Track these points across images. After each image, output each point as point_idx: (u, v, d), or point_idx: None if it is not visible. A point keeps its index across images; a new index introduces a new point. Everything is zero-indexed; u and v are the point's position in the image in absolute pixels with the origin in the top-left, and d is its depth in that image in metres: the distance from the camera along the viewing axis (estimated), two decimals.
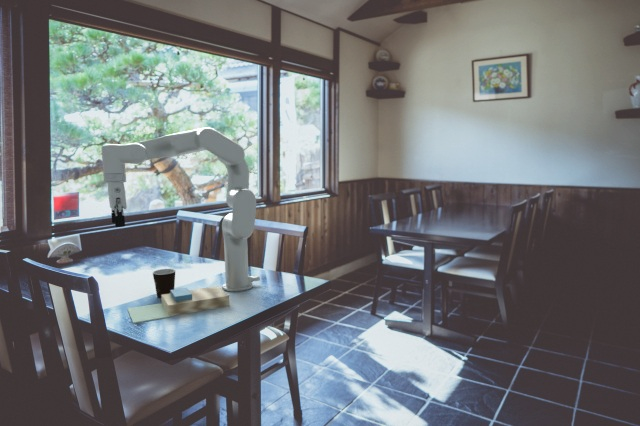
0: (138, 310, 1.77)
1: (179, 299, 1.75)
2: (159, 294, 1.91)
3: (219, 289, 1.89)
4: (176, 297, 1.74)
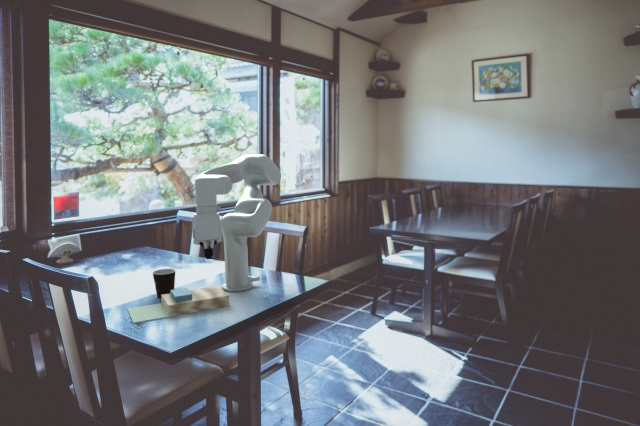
0: (138, 310, 1.77)
1: (179, 299, 1.75)
2: (159, 294, 1.91)
3: (219, 289, 1.89)
4: (176, 297, 1.74)
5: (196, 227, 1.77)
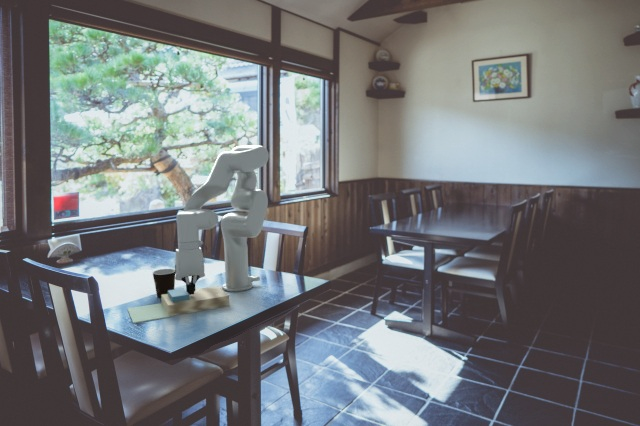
0: (138, 310, 1.77)
1: (176, 299, 1.75)
2: (159, 294, 1.91)
3: (219, 289, 1.89)
4: (173, 297, 1.74)
5: (178, 263, 1.76)
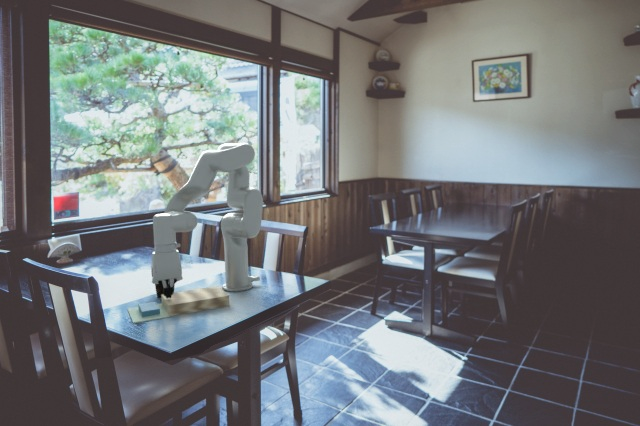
0: (138, 310, 1.77)
1: (155, 311, 1.72)
2: (159, 294, 1.91)
3: (219, 289, 1.89)
4: (158, 313, 1.72)
5: (154, 266, 1.72)
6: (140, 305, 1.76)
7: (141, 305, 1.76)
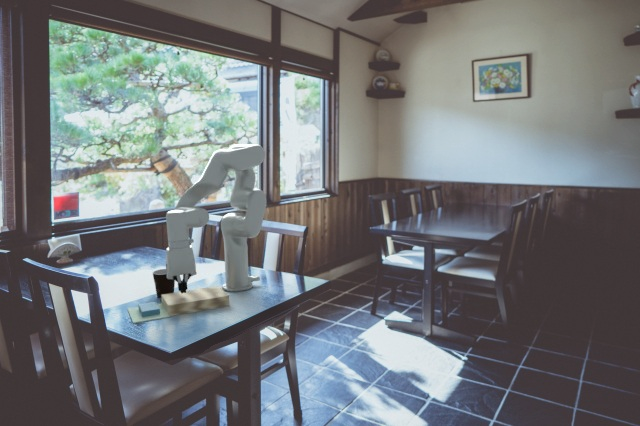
0: (138, 310, 1.77)
1: (155, 311, 1.72)
2: (159, 294, 1.91)
3: (219, 289, 1.89)
4: (158, 313, 1.72)
5: (169, 262, 1.75)
6: (140, 305, 1.76)
7: (141, 305, 1.76)
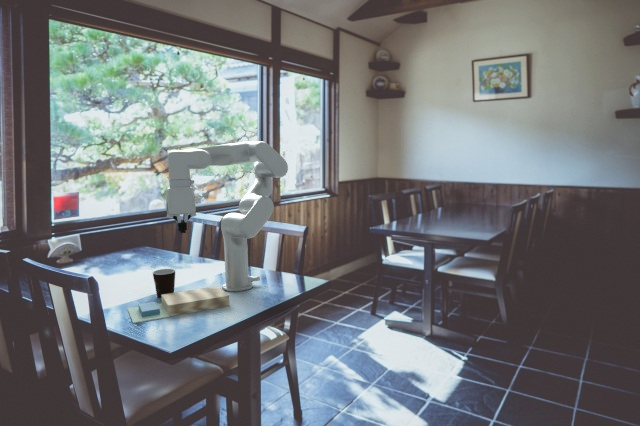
0: (138, 310, 1.77)
1: (155, 311, 1.72)
2: (159, 294, 1.91)
3: (219, 289, 1.89)
4: (158, 313, 1.72)
5: (169, 201, 1.77)
6: (140, 305, 1.76)
7: (141, 305, 1.76)
